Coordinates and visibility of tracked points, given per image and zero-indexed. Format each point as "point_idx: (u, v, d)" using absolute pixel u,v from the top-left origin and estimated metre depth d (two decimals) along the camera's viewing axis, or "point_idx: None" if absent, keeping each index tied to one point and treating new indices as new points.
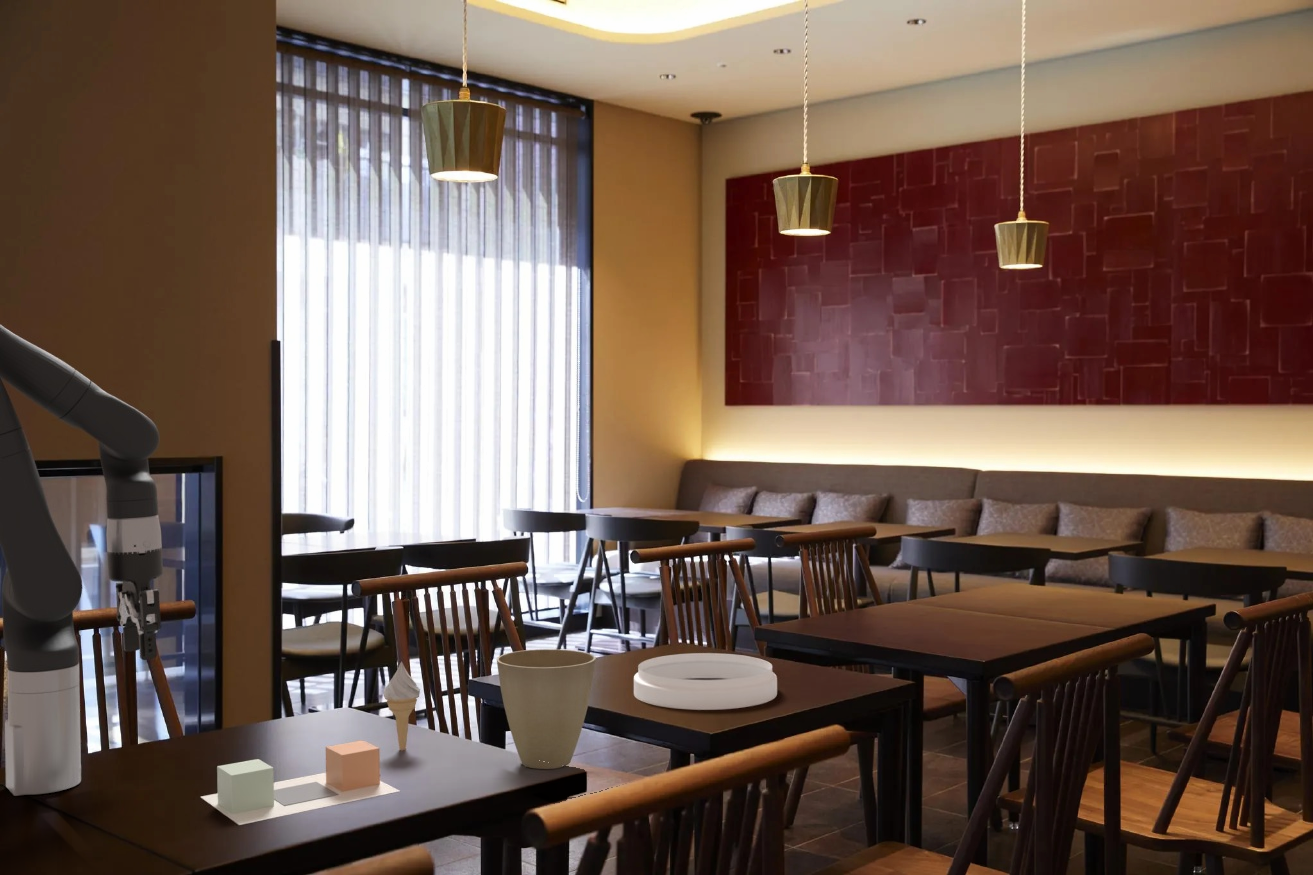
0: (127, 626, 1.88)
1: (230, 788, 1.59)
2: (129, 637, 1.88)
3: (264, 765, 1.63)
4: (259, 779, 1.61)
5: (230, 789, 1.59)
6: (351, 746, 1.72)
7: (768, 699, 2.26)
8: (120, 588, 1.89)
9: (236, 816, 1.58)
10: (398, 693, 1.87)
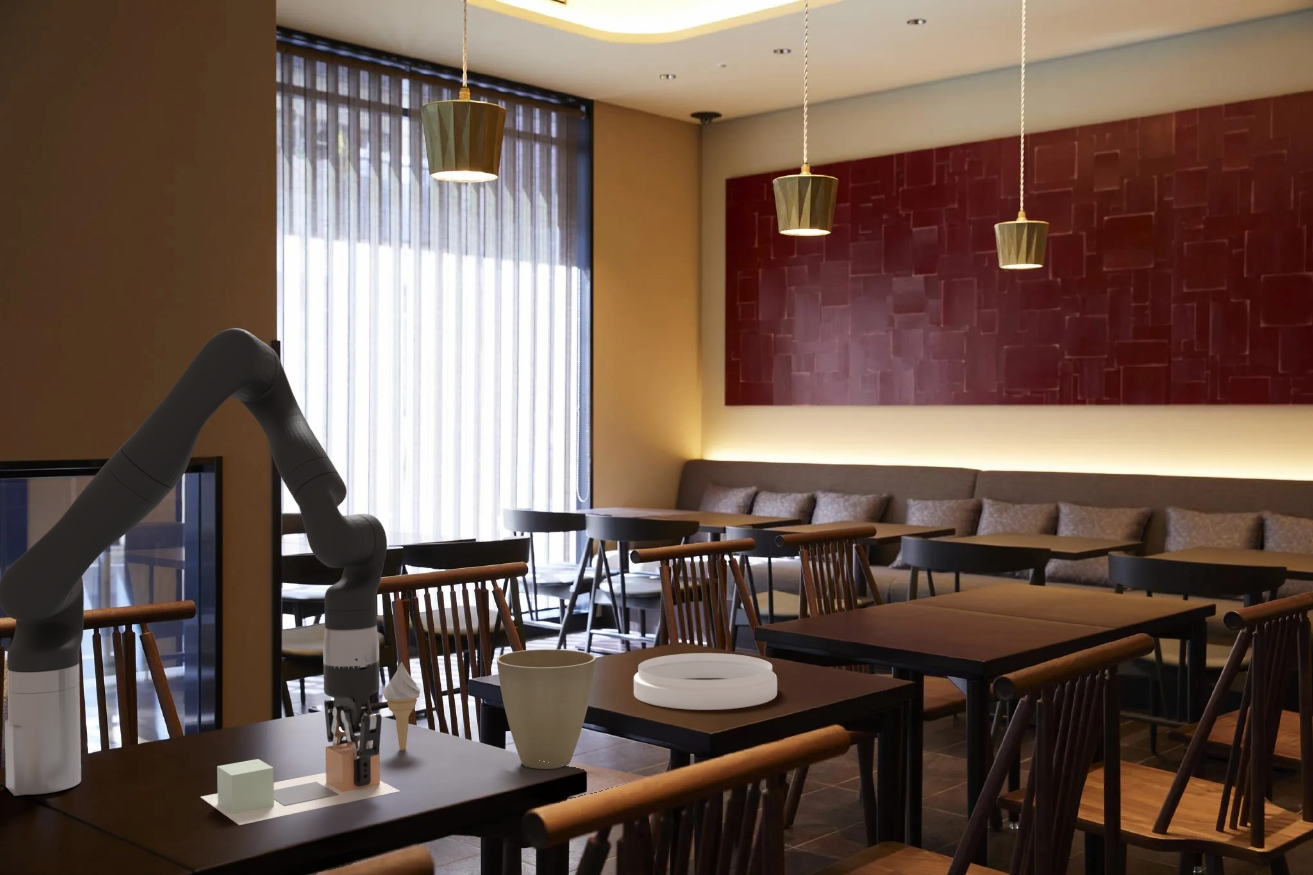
0: None
1: (230, 788, 1.59)
2: None
3: (264, 765, 1.63)
4: (259, 779, 1.61)
5: (230, 789, 1.59)
6: (351, 746, 1.72)
7: (768, 699, 2.26)
8: (330, 705, 1.76)
9: (236, 816, 1.58)
10: (398, 693, 1.87)
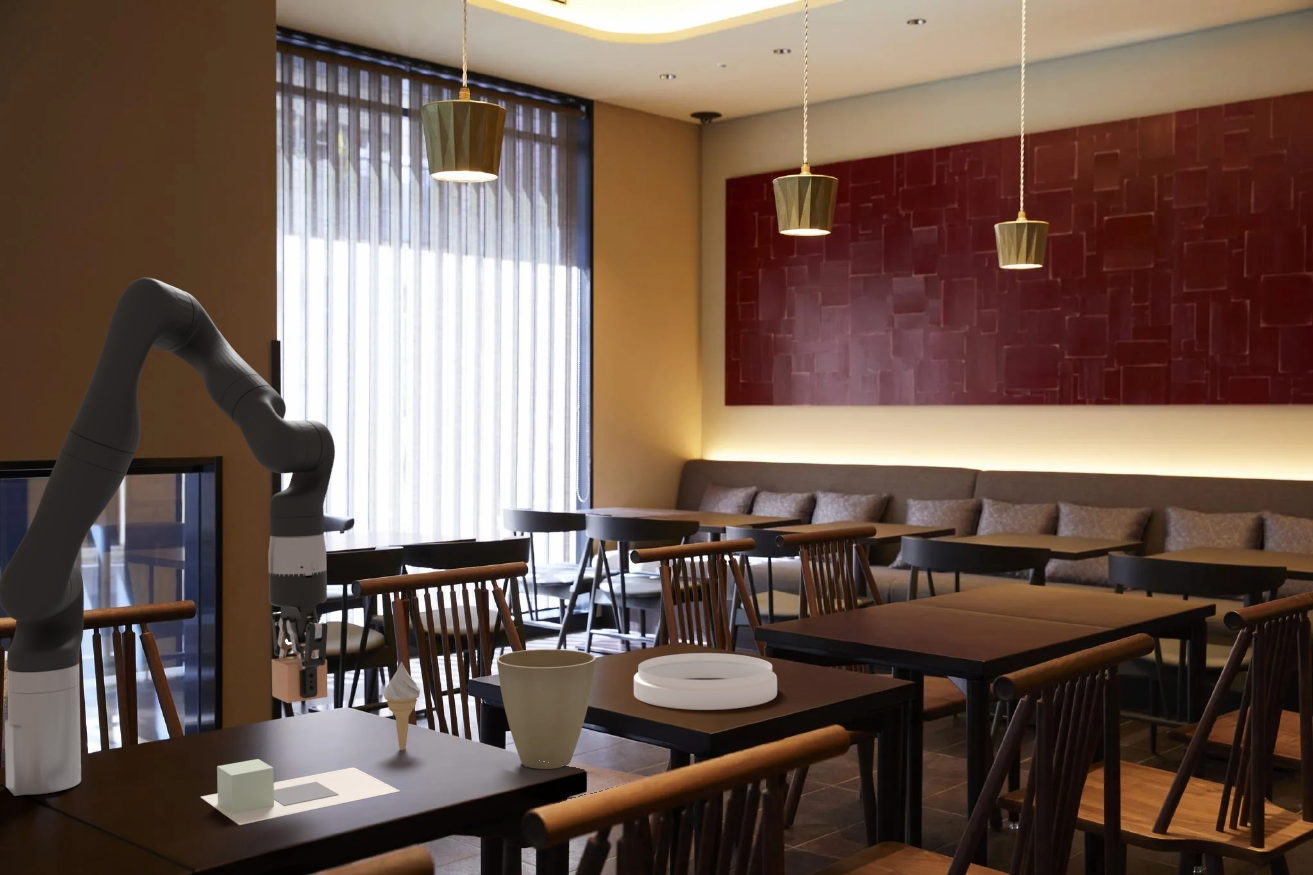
0: None
1: (230, 788, 1.59)
2: None
3: (264, 765, 1.63)
4: (259, 779, 1.61)
5: (230, 789, 1.59)
6: None
7: (768, 699, 2.26)
8: (276, 618, 1.71)
9: (236, 816, 1.58)
10: (398, 693, 1.87)
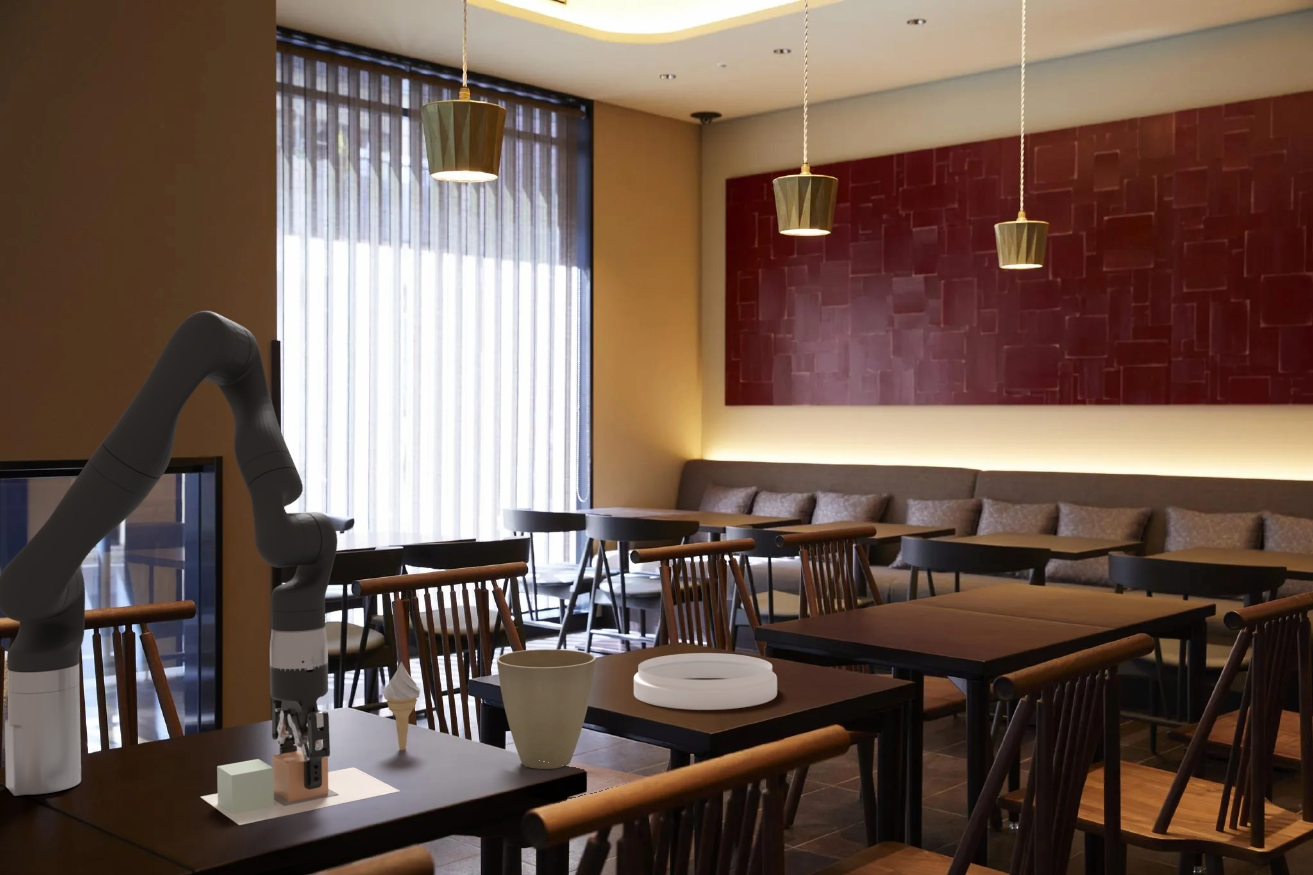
0: (284, 747, 1.70)
1: (230, 788, 1.59)
2: None
3: (264, 765, 1.63)
4: (259, 779, 1.61)
5: (230, 789, 1.59)
6: (299, 755, 1.68)
7: (768, 699, 2.26)
8: (277, 704, 1.71)
9: (236, 816, 1.58)
10: (398, 693, 1.87)
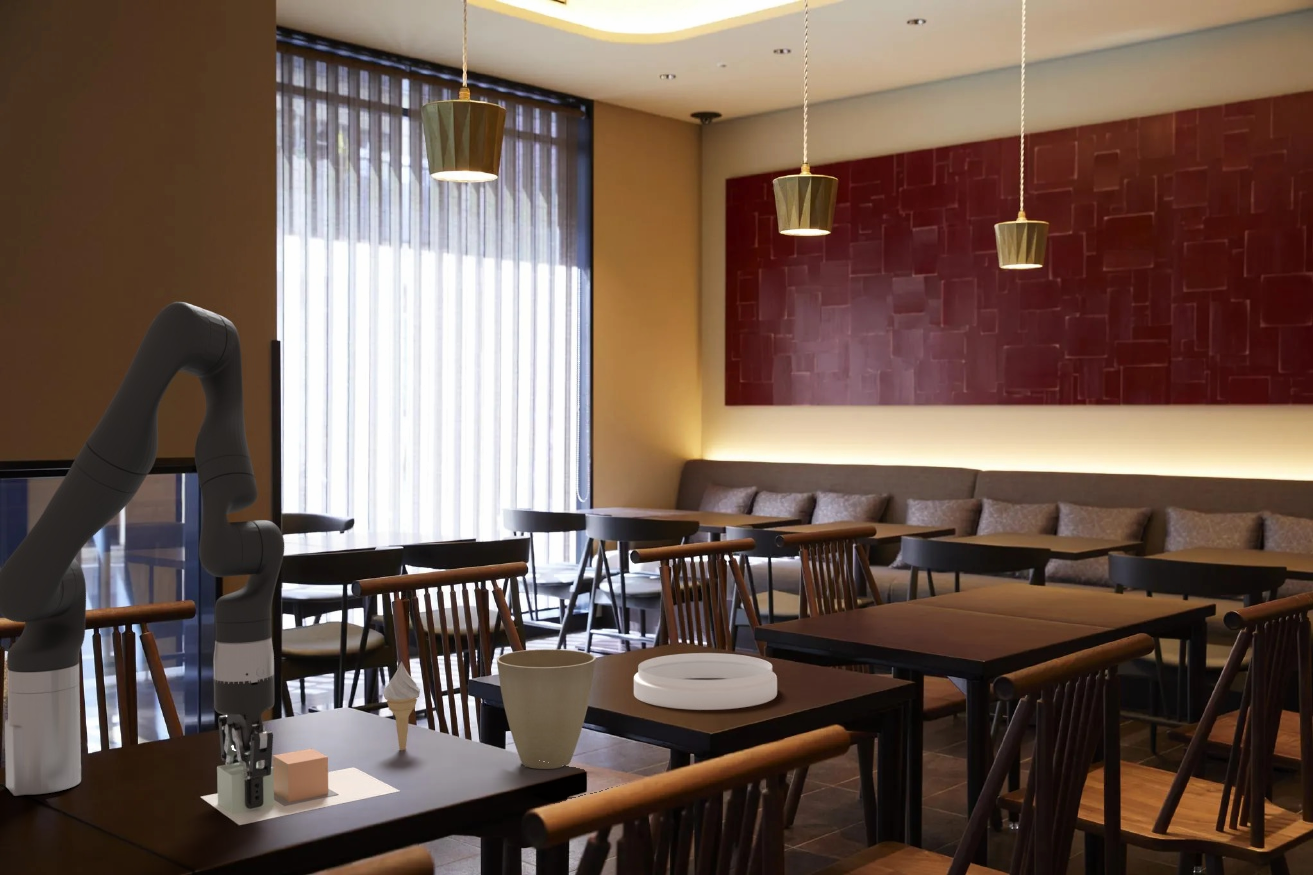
0: None
1: (230, 788, 1.59)
2: None
3: None
4: None
5: (230, 789, 1.59)
6: (299, 755, 1.68)
7: (768, 699, 2.26)
8: (224, 722, 1.66)
9: (236, 816, 1.58)
10: (398, 693, 1.87)
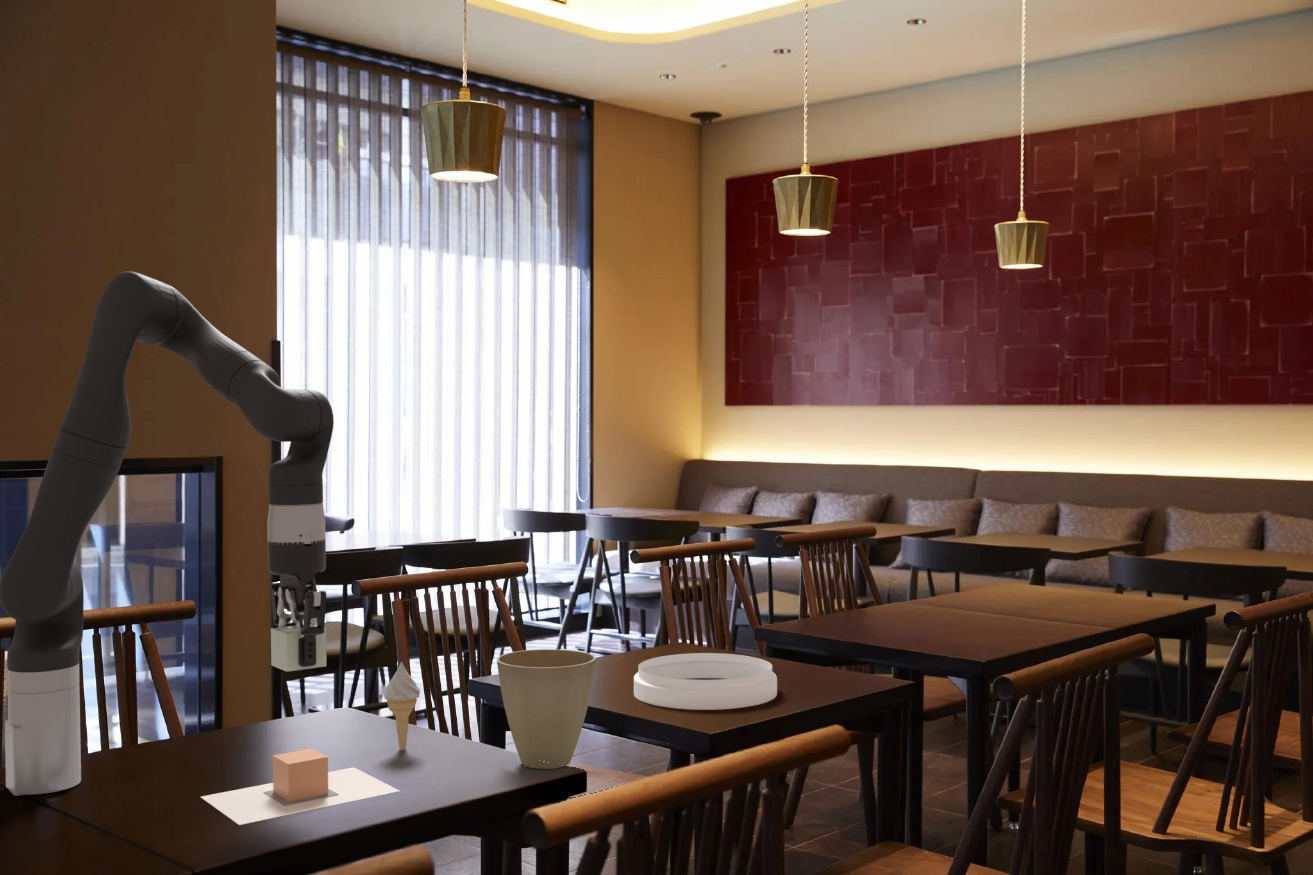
0: None
1: (285, 646, 1.63)
2: None
3: None
4: None
5: (285, 647, 1.63)
6: (299, 755, 1.68)
7: (768, 699, 2.26)
8: (276, 588, 1.71)
9: (236, 816, 1.58)
10: (398, 693, 1.87)
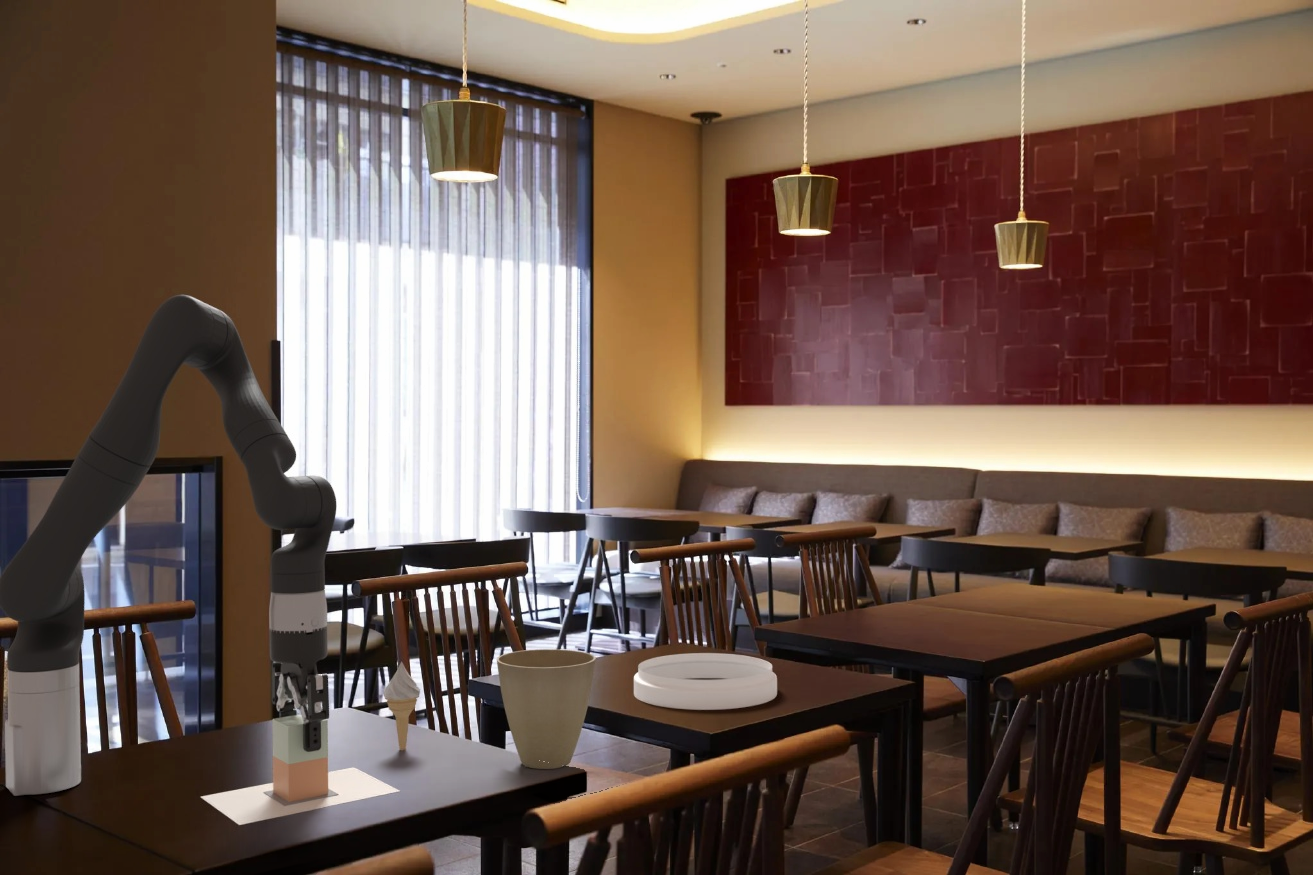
0: (284, 711, 1.70)
1: (286, 739, 1.64)
2: None
3: None
4: None
5: (287, 740, 1.64)
6: None
7: (768, 699, 2.26)
8: (277, 668, 1.71)
9: (236, 816, 1.58)
10: (398, 693, 1.87)
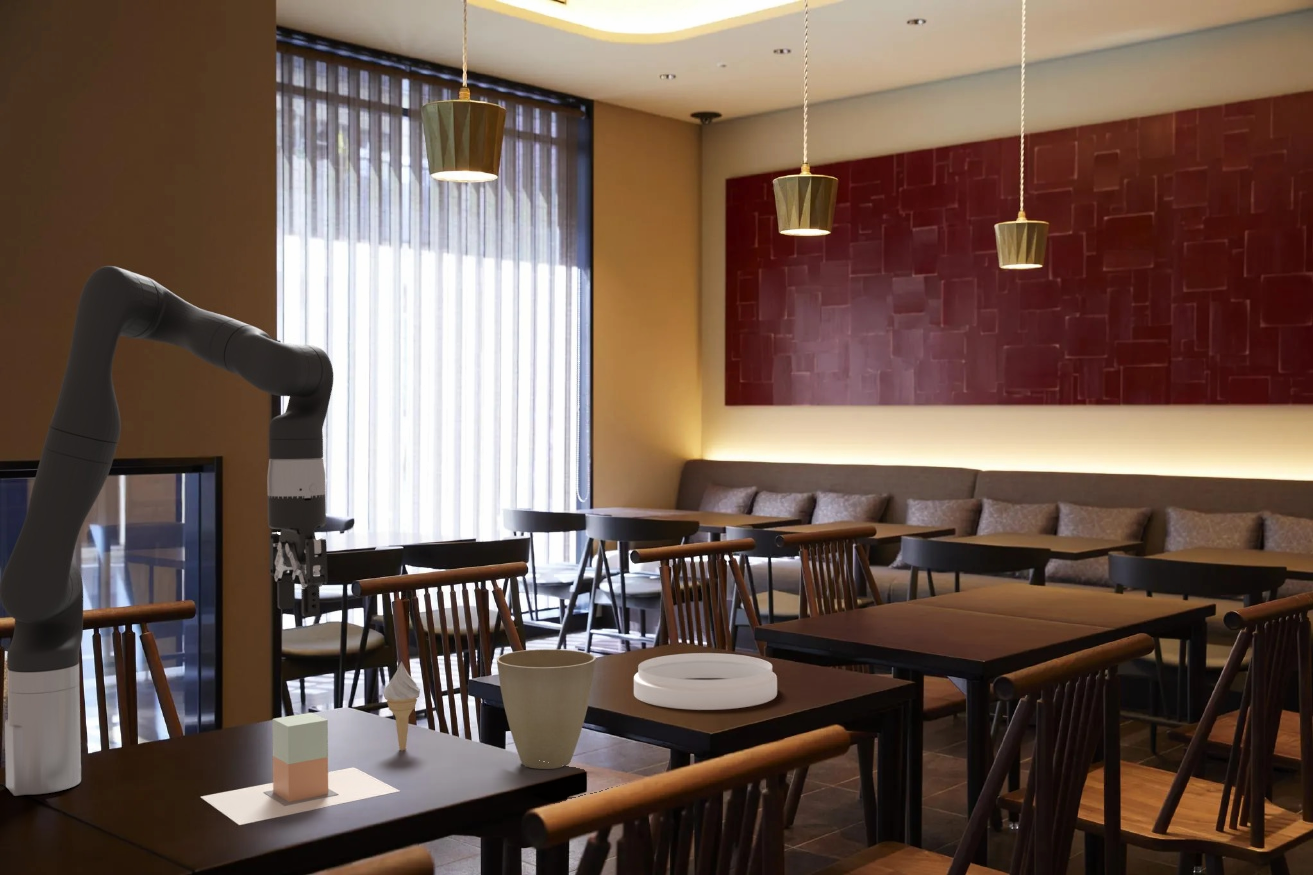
0: (282, 581, 1.70)
1: (286, 739, 1.64)
2: (284, 593, 1.70)
3: (318, 718, 1.68)
4: (313, 730, 1.65)
5: (287, 740, 1.64)
6: None
7: (768, 699, 2.26)
8: (275, 539, 1.71)
9: (236, 816, 1.58)
10: (398, 693, 1.87)
